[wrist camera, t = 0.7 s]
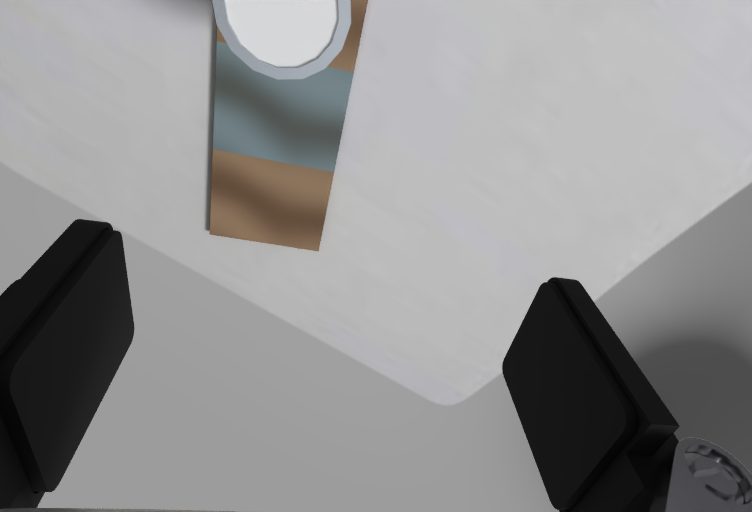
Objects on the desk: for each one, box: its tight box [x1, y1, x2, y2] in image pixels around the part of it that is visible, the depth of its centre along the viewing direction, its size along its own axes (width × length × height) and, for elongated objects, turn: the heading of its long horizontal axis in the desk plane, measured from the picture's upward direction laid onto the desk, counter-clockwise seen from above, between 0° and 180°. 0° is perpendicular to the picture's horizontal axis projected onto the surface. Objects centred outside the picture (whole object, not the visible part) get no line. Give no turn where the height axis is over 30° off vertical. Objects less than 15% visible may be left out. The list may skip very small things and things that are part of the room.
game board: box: [210, 0, 368, 251], centre depth 33 cm, size 22×9×1 cm, turn 167°
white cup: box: [212, 0, 351, 80], centre depth 26 cm, size 7×7×7 cm
